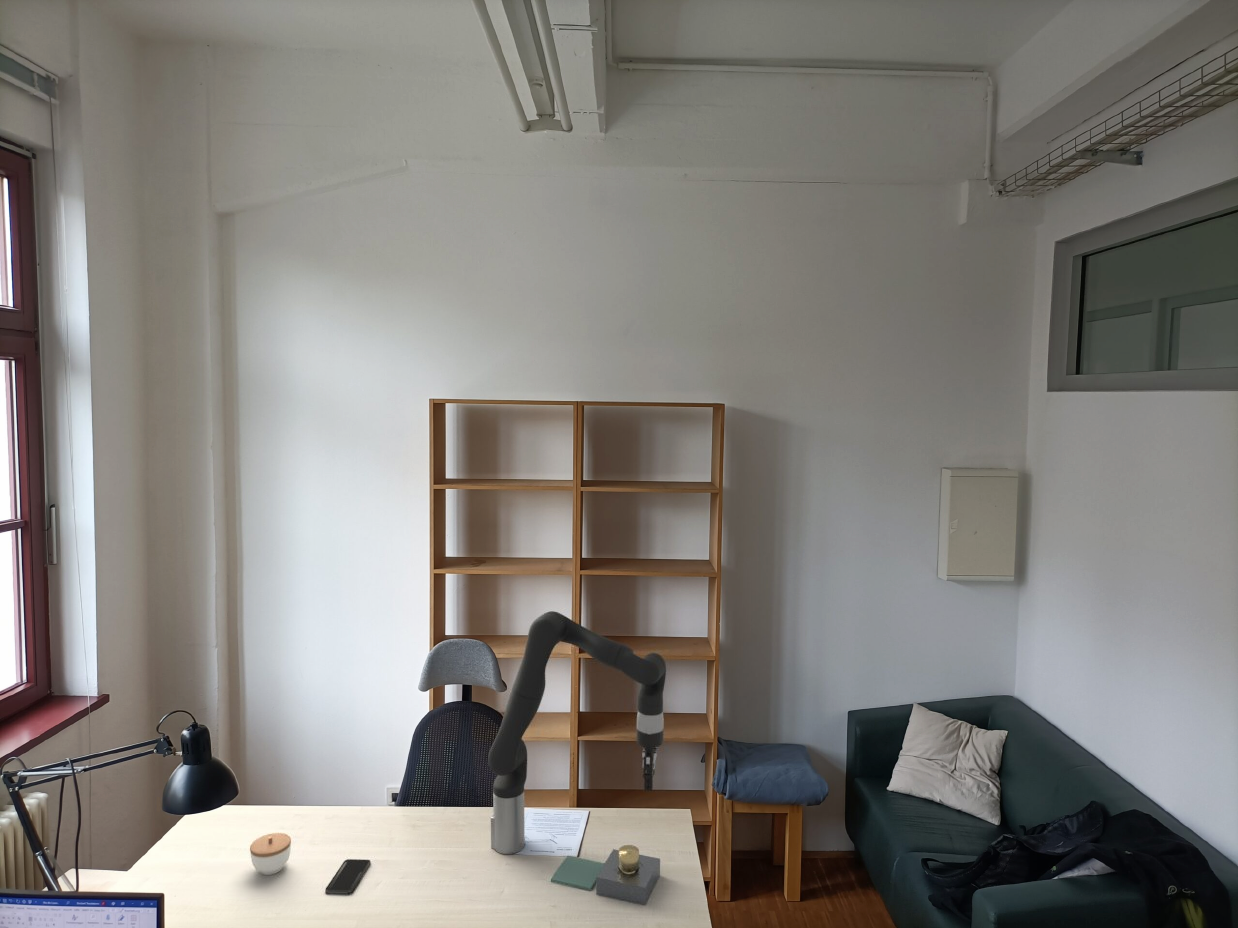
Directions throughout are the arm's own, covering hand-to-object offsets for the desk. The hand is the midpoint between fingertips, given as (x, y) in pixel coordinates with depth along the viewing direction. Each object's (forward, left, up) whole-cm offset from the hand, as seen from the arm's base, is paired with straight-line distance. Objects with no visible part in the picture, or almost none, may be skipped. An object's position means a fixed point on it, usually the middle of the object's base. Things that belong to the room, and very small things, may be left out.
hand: (649, 781), depth 222 cm
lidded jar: (-103, -33, -28) cm, 112 cm away
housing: (-4, -6, -28) cm, 28 cm away
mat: (-19, -6, -28) cm, 34 cm away
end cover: (-4, -6, -28) cm, 28 cm away
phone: (-79, -29, -28) cm, 89 cm away
